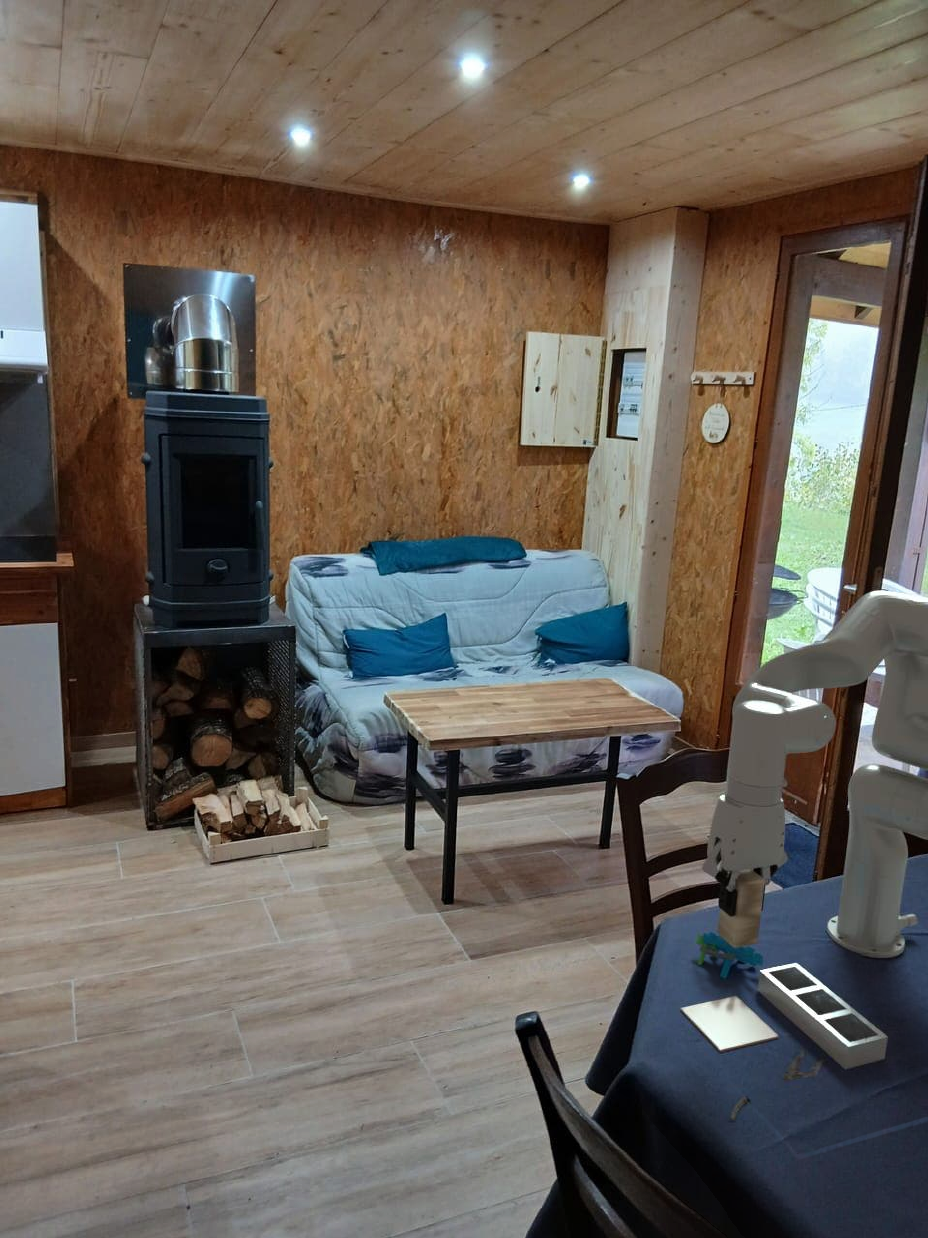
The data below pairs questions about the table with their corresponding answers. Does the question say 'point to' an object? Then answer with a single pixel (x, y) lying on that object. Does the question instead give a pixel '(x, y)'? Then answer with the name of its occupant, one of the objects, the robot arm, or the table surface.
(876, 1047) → the shelf
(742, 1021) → the tile
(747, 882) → the peg
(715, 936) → the gear
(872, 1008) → the table surface
